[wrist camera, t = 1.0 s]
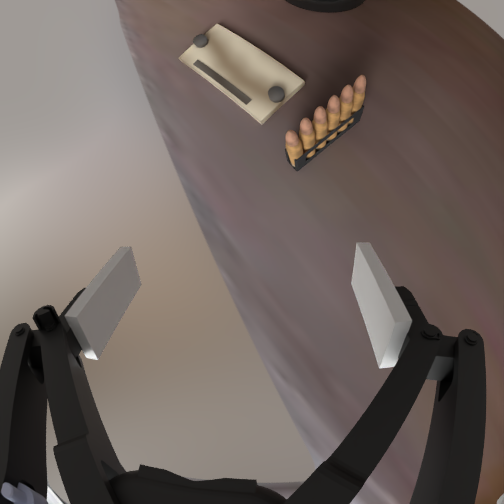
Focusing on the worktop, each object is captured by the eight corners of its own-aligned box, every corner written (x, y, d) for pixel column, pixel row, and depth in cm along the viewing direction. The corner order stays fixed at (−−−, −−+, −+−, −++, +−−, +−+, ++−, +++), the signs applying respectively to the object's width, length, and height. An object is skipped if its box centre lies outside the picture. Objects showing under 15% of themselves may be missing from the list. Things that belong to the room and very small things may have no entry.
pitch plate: (219, 27, 35) (215, 20, 33) (304, 85, 34) (304, 77, 32) (181, 61, 37) (175, 55, 35) (261, 124, 35) (258, 119, 33)
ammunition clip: (297, 171, 35) (288, 146, 23) (287, 160, 35) (274, 130, 24) (359, 120, 33) (377, 77, 21) (349, 110, 33) (362, 63, 21)
